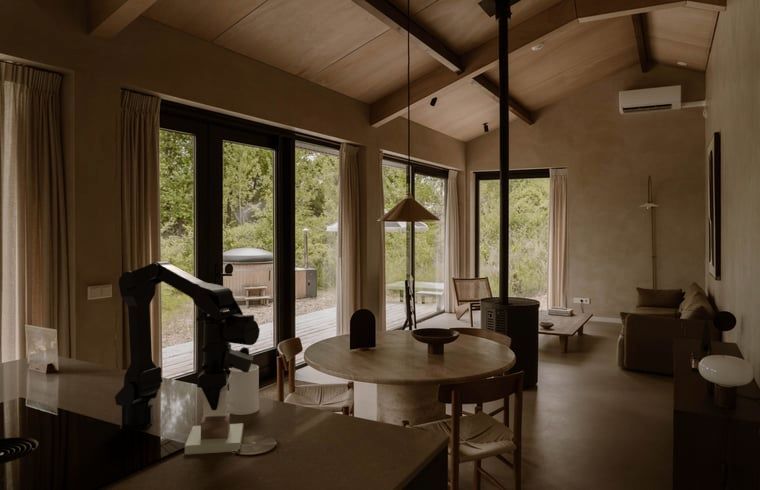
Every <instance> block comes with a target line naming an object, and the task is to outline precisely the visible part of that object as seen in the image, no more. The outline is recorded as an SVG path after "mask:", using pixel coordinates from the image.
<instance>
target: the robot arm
mask: <svg viewBox="0 0 760 490" xmlns="http://www.w3.org/2000/svg"><path fill="white" fill-rule="evenodd" d="M162 282H163V283H165V284H167V285H168V286H170V287H171V288H174V289H176V290H177V291H179V292H181V293H183V294H184V295H186V296H188V297H189V298H190V299H191V300H192V301H193V304H194V305H195V307H197V308H198V309H200V310H201V311H202V313H201V314H200V315H199V316H198V317H196V320H195V321H196V322H203V346H202V350H201V351H202V352H201V353H203V363H202V364H201V365H202V366H201V370H202V371H201V372H200V373H199V374H198V376H197V378H196V387H197V388H200V389H201V390H202V392H203V395H204V394H205V396H206V398H207V401H208V403H209V405H210V407H211V409H212V410H217V407H218V402H219V397H220V392H221V389H222V388H223V387H224V386H226V385H227V382H228V381H227V380H228V377H229V374H230V372H231V370H229V368H232V367H233V368H236V369H239V370H242V372H246V373H248V372H249V369H250V366H251V364H253V360H254V356H253V354H250V349H249V348H248V347H245V346H254V345H255V344H256V343H257V341H258V339H259V336H260V327H259V323H257V321H256V320H255V315H253V314H247V315H245V314H244V313H243V312H242V309H241V307H240V306H239V304H238V302H237V300H236V298H235V297H234V294H233V291H232V289H230V288H229V287H226V286H224V285H220V284H215V283H211V282H210V283H209V282H206V281H203V280H201V279H199V278H197V277H195V276H194V275H192V274H190V273H189V272H186V271H184V270H182V269H181V268H179V267H177V266H175V265H173V263H172V262H169V261H167V260H166V261H164V260H163V261H161V260H160V261H153V262H151V263H150V264H148V265H146V266H143V267H140V268H136V269H134V270H130V271H129V270H128V271H124V272H123V273H122V275H121V276H119V278H118V287H119V292H120V297H121V299H122V300H123V301H124V304H126V306H127V309H128V331H129V332H128V333H129V334H128V335H129V352H130V353H129V356H130V357H129V358H130V364H129V366H128V368H127V370H126V372H125V374H124V379H123V387H122V388H120V390H119V391H118V392H117V394H115V396H114V400H115V404H116V406H121V425H120V427H119V430H120V431H129V430H146V429H148V427H149V426H150V425H151V424H152V422H153V421H154V405H153V404H152V399H156V398H157V395H158V392H159V390H160V389H161V386H162V383H163V378H162V370H163V369H162V368H161V366H157V365H156V364H155V363H154V361H153V357H152V356H153V353H152V352H153V351H152V350H153V349H152V332H151V330H152V329H151V313H150V312H151V310H150V309H151V308H150V307H151V303H152V300H153V299H154V297H155V294H156V288H157V287H156V286H157V285H159V284H160V283H162ZM232 344H236V345H243V347H241V348H240V349H239V350H238V349H236V350H234V349H232ZM244 345H245V346H244ZM227 386H228V385H227Z"/></svg>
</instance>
